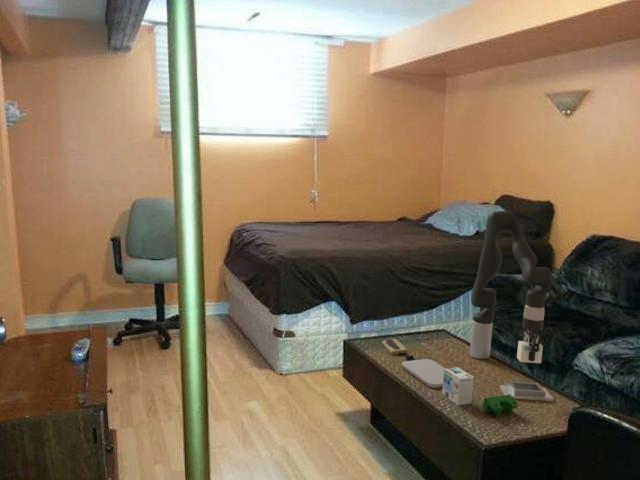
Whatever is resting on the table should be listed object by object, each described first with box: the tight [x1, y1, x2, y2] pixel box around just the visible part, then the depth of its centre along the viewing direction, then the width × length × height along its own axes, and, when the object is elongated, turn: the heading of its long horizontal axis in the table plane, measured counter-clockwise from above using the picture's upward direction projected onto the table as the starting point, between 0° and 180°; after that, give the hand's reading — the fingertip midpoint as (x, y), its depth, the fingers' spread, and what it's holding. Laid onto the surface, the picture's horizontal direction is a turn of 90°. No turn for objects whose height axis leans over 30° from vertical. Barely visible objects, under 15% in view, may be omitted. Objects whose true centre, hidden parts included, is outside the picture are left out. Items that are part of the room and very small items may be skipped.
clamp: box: [482, 394, 519, 418], centre depth 203 cm, size 12×6×9 cm, turn 105°
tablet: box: [401, 358, 447, 389], centre depth 237 cm, size 16×26×2 cm, turn 21°
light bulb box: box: [441, 366, 475, 406], centre depth 214 cm, size 11×7×11 cm, turn 22°
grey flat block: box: [499, 380, 554, 402], centre depth 222 cm, size 10×18×3 cm, turn 87°
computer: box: [381, 338, 409, 356], centre depth 268 cm, size 16×8×3 cm, turn 11°
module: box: [516, 340, 544, 364], centre depth 219 cm, size 5×8×7 cm, turn 86°
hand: (529, 358), depth 220 cm, fingers closed on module, 5 cm apart
